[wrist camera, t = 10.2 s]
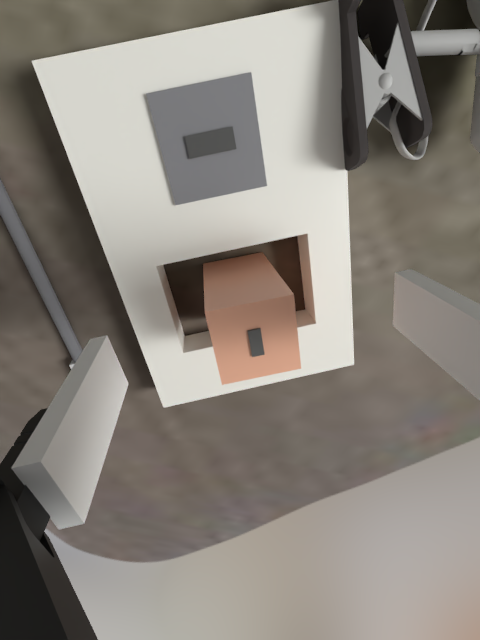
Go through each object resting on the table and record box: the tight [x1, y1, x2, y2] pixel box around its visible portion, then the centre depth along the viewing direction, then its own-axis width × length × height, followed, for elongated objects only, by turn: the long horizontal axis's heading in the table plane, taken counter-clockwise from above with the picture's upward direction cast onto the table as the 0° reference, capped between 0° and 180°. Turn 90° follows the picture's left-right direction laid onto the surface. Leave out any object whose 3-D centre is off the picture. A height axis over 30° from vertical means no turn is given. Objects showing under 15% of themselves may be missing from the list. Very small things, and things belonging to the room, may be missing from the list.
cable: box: [0, 179, 83, 369], centre depth 20 cm, size 16×1×1 cm, turn 11°
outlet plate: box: [32, 0, 354, 408], centre depth 19 cm, size 20×14×3 cm
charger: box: [203, 252, 301, 385], centre depth 18 cm, size 4×4×8 cm
